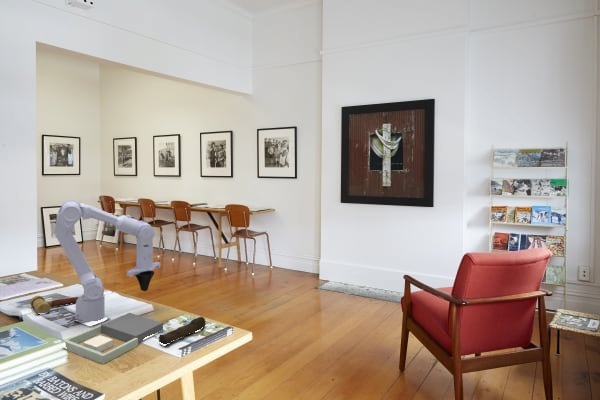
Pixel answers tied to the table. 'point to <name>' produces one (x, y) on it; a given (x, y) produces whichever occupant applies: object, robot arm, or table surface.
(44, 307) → the gavel
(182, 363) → the table surface
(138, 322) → the charcoal board
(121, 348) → the box
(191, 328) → the dark brown rounded bar
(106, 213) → the robot arm
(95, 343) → the tile
